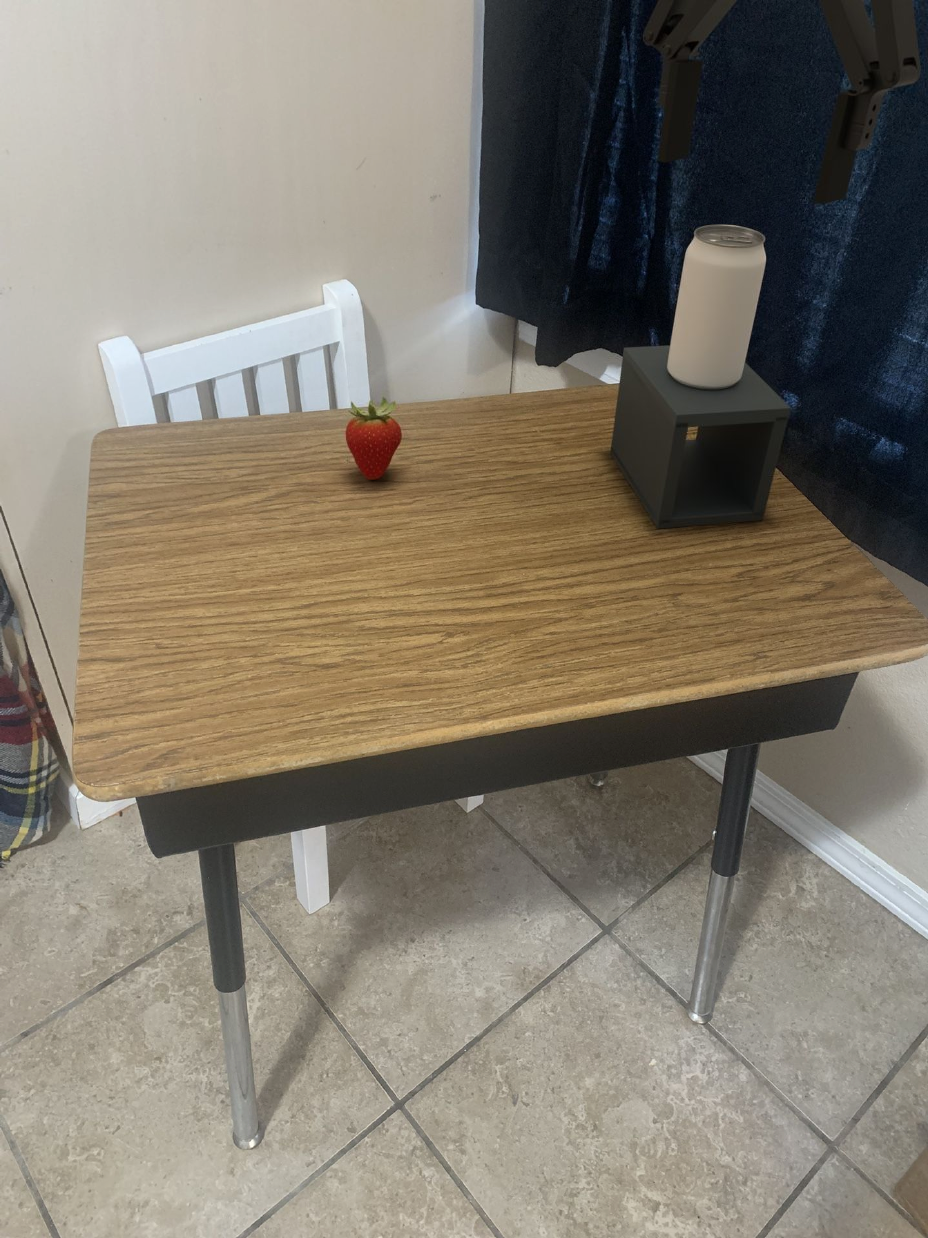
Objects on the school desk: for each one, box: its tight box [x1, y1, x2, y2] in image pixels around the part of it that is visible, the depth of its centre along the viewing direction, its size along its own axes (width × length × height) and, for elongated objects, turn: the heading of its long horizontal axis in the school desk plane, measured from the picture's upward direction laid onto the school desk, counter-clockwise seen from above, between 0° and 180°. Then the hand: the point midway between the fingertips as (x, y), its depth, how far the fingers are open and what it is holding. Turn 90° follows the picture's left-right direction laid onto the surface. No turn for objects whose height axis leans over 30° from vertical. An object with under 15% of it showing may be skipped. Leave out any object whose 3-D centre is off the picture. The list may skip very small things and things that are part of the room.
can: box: [667, 224, 767, 390], centre depth 82 cm, size 6×6×12 cm
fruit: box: [345, 396, 403, 481], centre depth 90 cm, size 5×5×8 cm
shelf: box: [610, 344, 792, 530], centre depth 89 cm, size 14×10×11 cm
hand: (746, 178), depth 70 cm, fingers open, 13 cm apart
